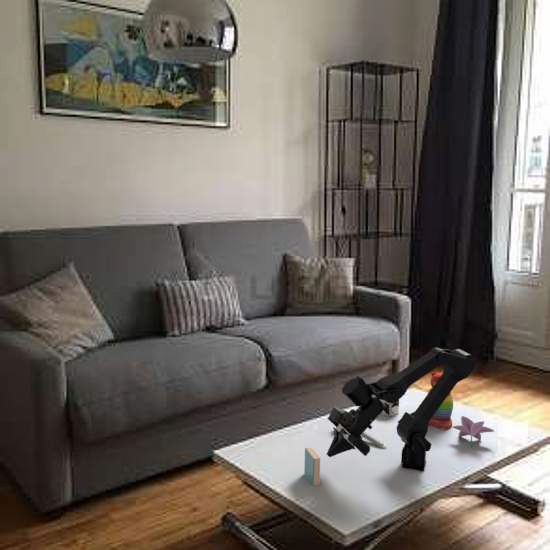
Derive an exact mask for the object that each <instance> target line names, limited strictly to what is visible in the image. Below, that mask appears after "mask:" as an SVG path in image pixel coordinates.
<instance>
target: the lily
mask: <svg viewBox="0 0 550 550" xmlns="http://www.w3.org/2000/svg"><path fill="white" fill-rule="evenodd" d="M460 420H461V421H460V422H461V425H452V426H451V428H453V429H455V430H458V431H459V433H458V437H459V438H461V437H467V436H470V449H473V438H475V439H477V440H478V441H482V434H483V433H493V432H495V430H494V429H493V428H491V427H487V426H484V424H485V421H483V420H482V421H477V422H474V421H473V420H471V419H470V418H469V417H466V416H463V415H462V416H461V418H460Z"/></svg>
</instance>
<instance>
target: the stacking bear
mask: <svg viewBox="0 0 550 550" xmlns="http://www.w3.org/2000/svg"><path fill="white" fill-rule="evenodd" d="M442 374H443V372H435V371H434V372H431V378H430V386H431V388H429V391H428V392H427V394H428V393H429V392H430V390H431V389H432V388H433V386H434V385H435V383H436V382H437V381H438V379H439V378H440V377H441V375H442ZM453 409H454V399H453V394H452V391H451V392H450V394H449V395H448V396H447V398H446V399H445V400H444V402H443V403H442V405H441V406H440V407H439V409H438V410H437V411H436V413H435V414H434V416H433V417H432V418H431V420H430V421H429V426H433V427H437V428H439V429H441V430H450V429H451V428H452V427H453V420H452V415H453V414H452V413H453Z"/></svg>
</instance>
